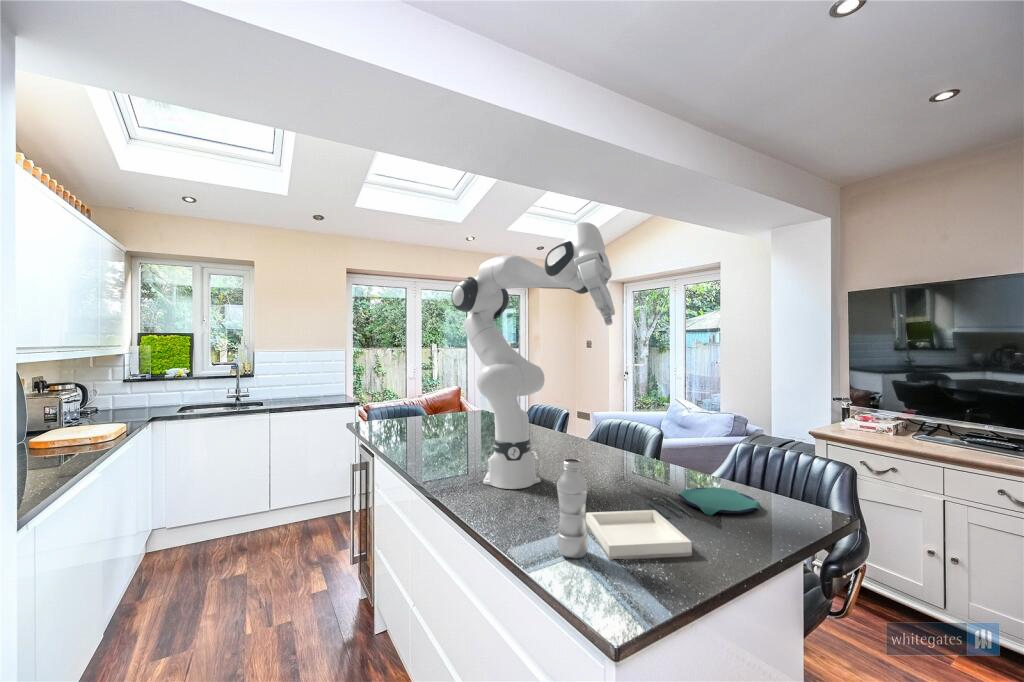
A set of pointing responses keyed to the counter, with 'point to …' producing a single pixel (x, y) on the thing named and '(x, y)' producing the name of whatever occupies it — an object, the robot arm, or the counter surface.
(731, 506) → the cutlery set
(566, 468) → the plastic bottle
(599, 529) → the ceramic dish
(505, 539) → the counter surface
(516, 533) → the counter surface
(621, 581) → the counter surface
